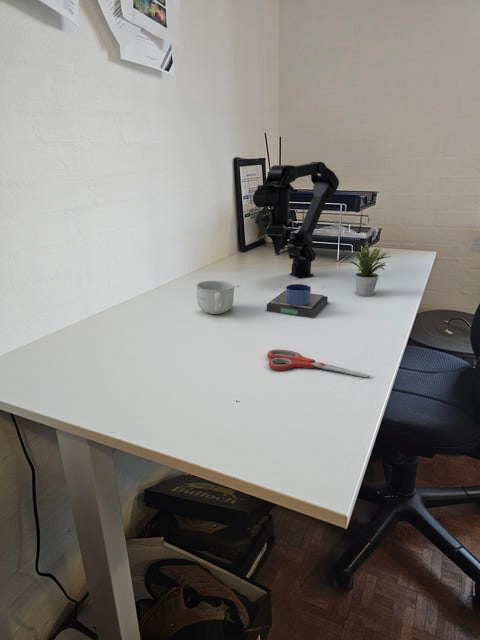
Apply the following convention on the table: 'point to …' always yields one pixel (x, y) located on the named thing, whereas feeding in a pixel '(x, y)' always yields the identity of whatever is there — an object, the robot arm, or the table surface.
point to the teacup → (215, 296)
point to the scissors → (302, 362)
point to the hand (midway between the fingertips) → (279, 251)
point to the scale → (297, 308)
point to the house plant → (367, 270)
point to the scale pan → (313, 301)
